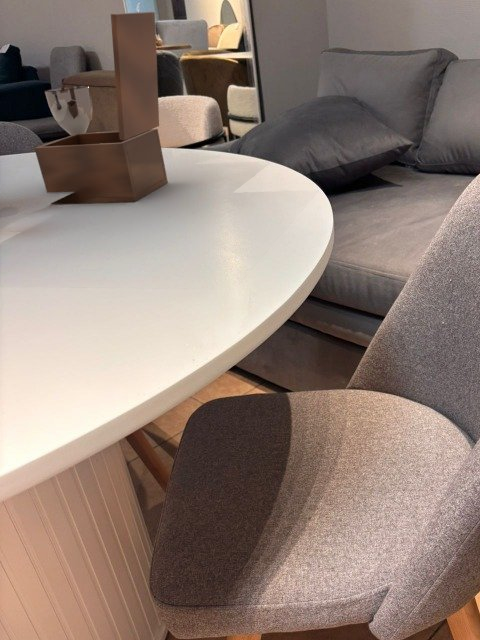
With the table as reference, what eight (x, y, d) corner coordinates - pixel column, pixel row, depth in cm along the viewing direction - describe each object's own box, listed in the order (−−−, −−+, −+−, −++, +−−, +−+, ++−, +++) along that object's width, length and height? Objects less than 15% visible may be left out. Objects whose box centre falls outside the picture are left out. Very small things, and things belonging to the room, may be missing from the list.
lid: (110, 13, 88) (115, 14, 87) (150, 11, 98) (155, 12, 98) (119, 139, 97) (124, 140, 96) (154, 125, 107) (159, 126, 107)
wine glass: (90, 166, 132) (71, 86, 124) (116, 168, 127) (97, 85, 120) (58, 175, 126) (36, 92, 119) (84, 177, 122) (62, 91, 114)
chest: (50, 204, 105) (34, 148, 101) (89, 185, 116) (76, 133, 111) (135, 201, 101) (122, 143, 97) (167, 182, 112) (157, 128, 107)
